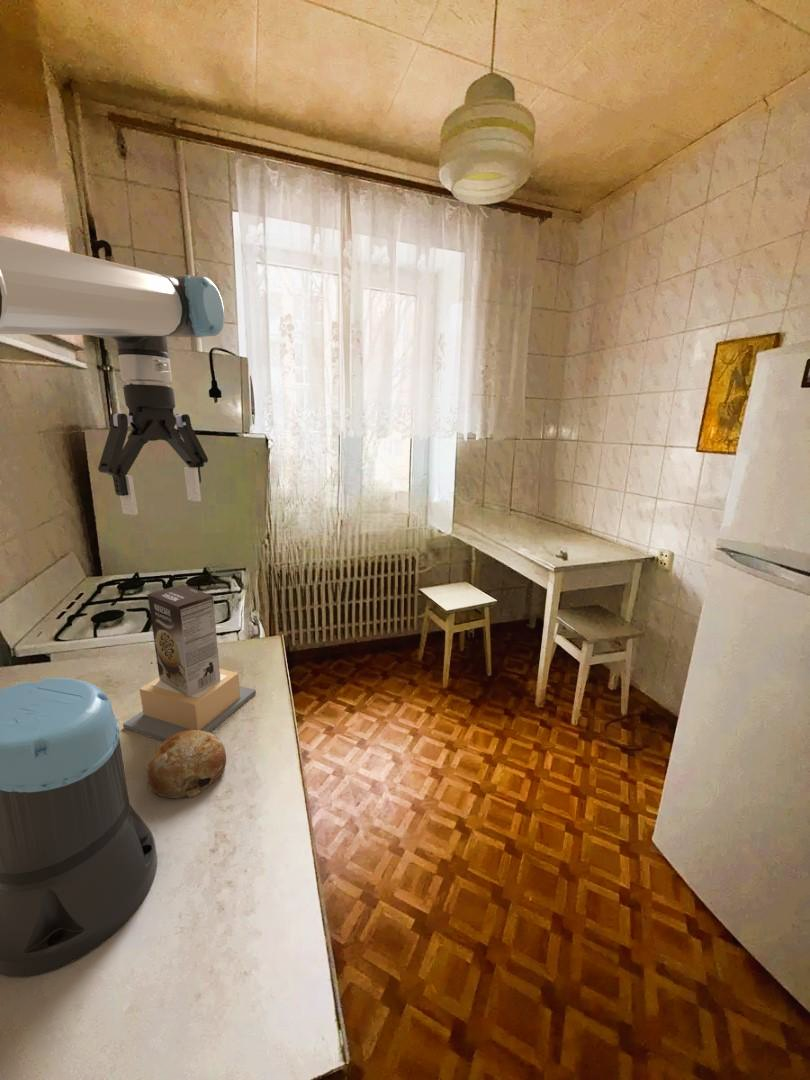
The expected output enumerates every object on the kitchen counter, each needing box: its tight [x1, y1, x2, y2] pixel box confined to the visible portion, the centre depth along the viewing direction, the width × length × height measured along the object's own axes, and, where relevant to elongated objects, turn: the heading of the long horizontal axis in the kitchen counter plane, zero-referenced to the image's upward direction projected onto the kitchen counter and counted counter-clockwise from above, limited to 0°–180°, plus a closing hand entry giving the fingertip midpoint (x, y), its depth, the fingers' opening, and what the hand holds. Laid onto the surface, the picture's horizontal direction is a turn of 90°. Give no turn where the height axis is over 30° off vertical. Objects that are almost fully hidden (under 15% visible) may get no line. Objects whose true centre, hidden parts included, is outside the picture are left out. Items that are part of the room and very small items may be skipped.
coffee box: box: [147, 584, 220, 697], centre depth 75 cm, size 9×6×16 cm
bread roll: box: [146, 730, 227, 799], centre depth 63 cm, size 10×10×8 cm
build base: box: [122, 668, 257, 742], centre depth 77 cm, size 16×14×6 cm
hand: (165, 507), depth 81 cm, fingers open, 13 cm apart
